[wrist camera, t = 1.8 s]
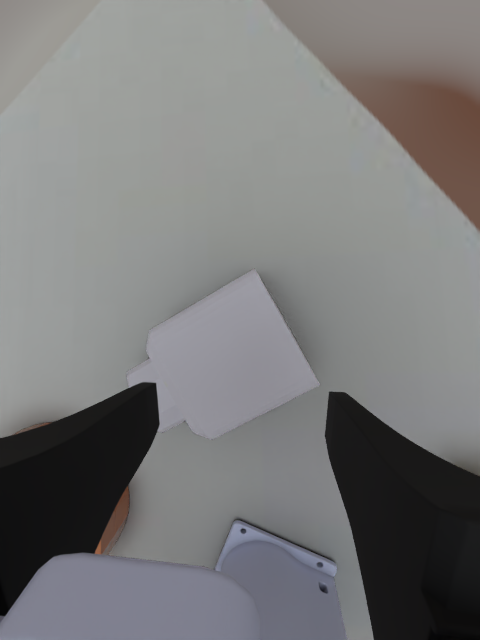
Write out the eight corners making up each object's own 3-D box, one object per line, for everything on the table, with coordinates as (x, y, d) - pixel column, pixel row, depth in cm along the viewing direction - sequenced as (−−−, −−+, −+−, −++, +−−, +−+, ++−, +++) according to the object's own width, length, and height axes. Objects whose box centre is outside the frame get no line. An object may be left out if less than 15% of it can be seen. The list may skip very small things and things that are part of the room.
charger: (111, 358, 25) (257, 272, 23) (162, 447, 25) (312, 370, 23) (74, 372, 21) (254, 266, 19) (138, 481, 21) (323, 388, 19)
